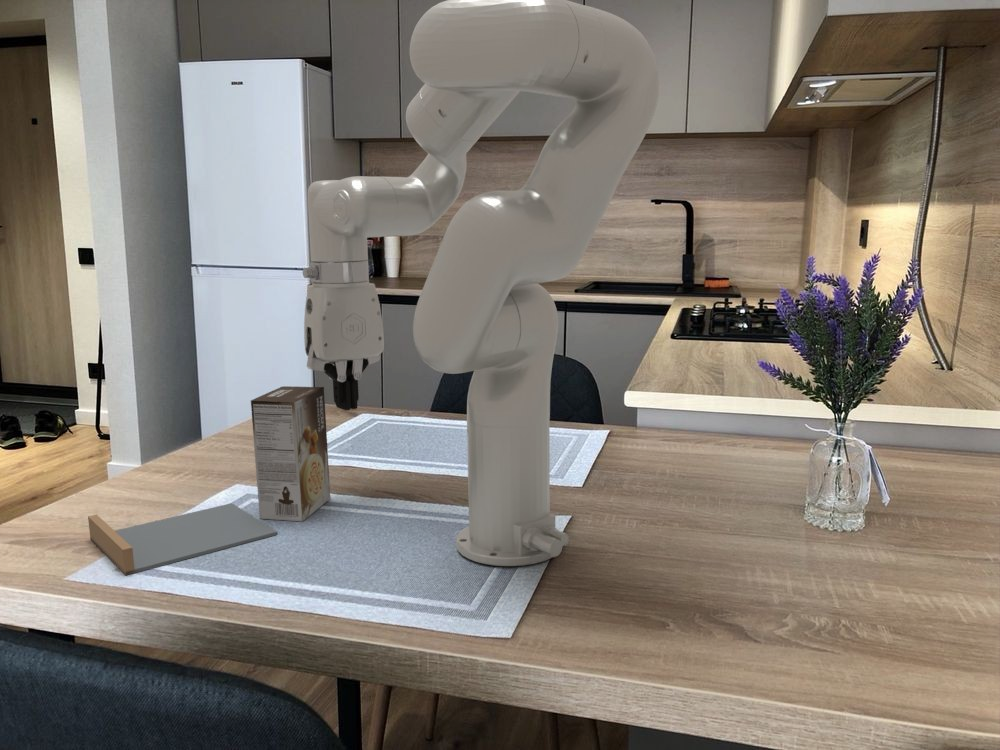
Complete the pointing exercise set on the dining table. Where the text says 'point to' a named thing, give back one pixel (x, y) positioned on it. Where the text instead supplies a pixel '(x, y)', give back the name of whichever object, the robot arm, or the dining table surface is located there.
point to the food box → (291, 452)
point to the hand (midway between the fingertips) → (346, 407)
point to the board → (176, 537)
